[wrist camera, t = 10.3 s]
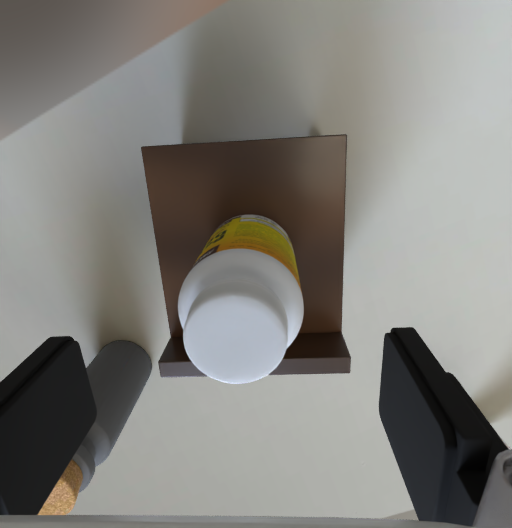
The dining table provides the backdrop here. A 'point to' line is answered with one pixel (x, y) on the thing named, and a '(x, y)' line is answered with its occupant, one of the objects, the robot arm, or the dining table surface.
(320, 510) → the dining table surface
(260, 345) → the supplement bottle
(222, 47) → the dining table surface
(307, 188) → the shelf
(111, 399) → the bottle
